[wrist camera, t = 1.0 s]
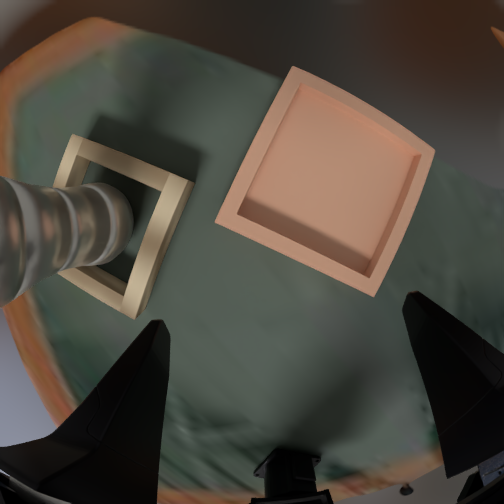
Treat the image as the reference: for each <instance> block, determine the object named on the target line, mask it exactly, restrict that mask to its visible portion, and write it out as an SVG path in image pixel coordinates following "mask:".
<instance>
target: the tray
mask: <svg viewBox="0 0 504 504" xmlns="http://www.w3.org/2000/svg"><path fill="white" fill-rule="evenodd" d="M434 153H435V150H434V149H433V148H432V147H431V146H429V145H428V144H427V143H425V142H424V141H423V140H421V139H420V138H419V137H417V136H416V135H415V134H413V133H412V132H410V131H409V130H407V129H406V128H405V127H403V126H402V125H400V124H399V123H397V122H396V121H394V120H393V119H391V118H390V117H388V116H387V115H385V114H384V113H382V112H381V111H379V110H377V109H376V108H374V107H373V106H371V105H369V104H368V103H366V102H364V101H362V100H361V99H359V98H357V97H355V96H354V95H352V94H350V93H348V92H346V91H345V90H343V89H341V88H339V87H337V86H335V85H333V84H331V83H329V82H327V81H325V80H323V79H321V78H319V77H317V76H315V75H312V74H310V73H308V72H306V71H304V70H301V69H299V68H297V67H295V66H292V68H291V70H290V72H289V73H288V75H287V77H286V79H285V81H284V82H283V84H282V86H281V88H280V90H279V92H278V94H277V96H276V97H275V99H274V101H273V103H272V105H271V107H270V109H269V111H268V113H267V115H266V117H265V119H264V120H263V122H262V124H261V126H260V128H259V130H258V132H257V134H256V136H255V138H254V140H253V142H252V144H251V146H250V148H249V150H248V152H247V154H246V156H245V159H244V161H243V163H242V165H241V167H240V169H239V171H238V173H237V175H236V177H235V179H234V181H233V184H232V186H231V188H230V190H229V192H228V194H227V196H226V199H225V201H224V203H223V205H222V207H221V209H220V212H219V214H218V216H217V218H216V220H215V223H217V224H220V225H222V226H224V227H226V228H228V229H230V230H233V231H235V232H237V233H239V234H241V235H243V236H246V237H248V238H250V239H252V240H254V241H256V242H259V243H261V244H263V245H265V246H267V247H269V248H271V249H274V250H276V251H278V252H280V253H282V254H284V255H286V256H288V257H291V258H293V259H295V260H297V261H299V262H301V263H303V264H305V265H308V266H310V267H312V268H314V269H316V270H318V271H320V272H322V273H324V274H327V275H329V276H331V277H333V278H335V279H337V280H339V281H341V282H343V283H345V284H347V285H350V286H352V287H354V288H356V289H358V290H360V291H362V292H364V293H366V294H368V295H370V296H372V297H374V296H375V294H376V292H377V290H378V288H379V286H380V284H381V282H382V281H383V279H384V277H385V275H386V273H387V271H388V269H389V267H390V264H391V262H392V260H393V258H394V256H395V254H396V252H397V250H398V247H399V245H400V243H401V241H402V239H403V236H404V234H405V232H406V229H407V227H408V225H409V222H410V220H411V217H412V215H413V212H414V210H415V207H416V205H417V202H418V200H419V197H420V194H421V192H422V189H423V186H424V183H425V181H426V178H427V175H428V172H429V169H430V166H431V163H432V160H433V156H434Z"/></svg>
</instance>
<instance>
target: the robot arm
mask: <svg viewBox="0 0 504 504" xmlns="http://www.w3.org/2000/svg"><path fill="white" fill-rule="evenodd" d="M402 312H403V316H404V320H405V324H406V327H407V331H408V335H409V339H410V343H411V346H412V349H413V352H414V355H415V358H416V361H417V364H418V367H419V370H420V373H421V376H422V379H423V382H424V385H425V388H426V392H427V395H428V398H429V402H430V405H431V409H432V413H433V416H434V420H435V424H436V428H437V432H438V435H439V436H438V437H439V441H440V446H441V451H442V456H443V461H444V466H445V471H446V477H447V479H448V478H451V477H453V476H455V475H458V474H460V473H462V472H464V471H466V470H469V469H471V468H473V467H474V466H477V467H478V471H476V472H475V473H473V474H471V475H470V476H469V477H468V479H467V481H466V483H465V485H464V487H463V490H462V491H461V493H460V495H459V497H458V499H457V502H458V503H457V504H504V354H503V353H502V352H500V351H499V350H497V349H496V348H495V347H494V346H492V345H491V344H490V343H488V342H487V341H486V340H485V339H482V337H481V336H479V335H478V334H477V333H475V332H474V331H473V330H471V329H470V328H469V327H468V326H466V325H465V324H464V323H462V322H461V321H460V320H458V319H457V318H455V317H454V316H453V315H451V314H450V313H449V312H447V311H446V310H445V309H443V308H442V307H440V306H439V305H438V304H436V303H435V302H433V301H432V300H431V299H429V298H428V297H426V296H425V295H423V294H422V293H421V292H419V291H412V292H409V293H408V294H407V296H406V299H405V302H404V305H403V308H402ZM169 367H170V334H169V331H168V329H167V327H166V325H165V323H164V321H163V320H161V319H157V320H151V321H150V322H149V323H148V325H147V326H146V327H145V328H144V329H143V330H142V332H141V333H140V334H139V335H138V336H137V337H136V339H135V340H134V341H133V342H132V343H131V344H130V346H129V347H128V348H127V349H126V350H125V352H124V353H123V354H122V355H121V356H120V358H119V359H118V360H117V361H116V362H115V364H114V365H113V366H112V367H111V368H110V370H109V371H108V372H107V373H106V374H105V376H104V377H103V378H102V379H101V381H100V382H99V383H98V384H97V387H95V388H94V389H93V390H92V392H91V393H90V394H89V395H88V396H87V397H86V399H85V400H84V401H83V402H82V403H81V404H80V405H79V407H78V408H77V409H76V410H75V411H74V412H73V413H72V414H71V415H70V416H69V417H68V418H67V419H66V420H65V421H64V422H63V423H62V424H61V425H60V426H59V427H58V428H57V429H56V430H55V431H54V432H53V433H52V434H50V435H48V436H46V437H44V438H41V439H37V440H33V441H29V442H25V443H21V444H17V445H12V446H7V447H0V469H1V470H2V471H4V472H5V473H7V474H8V475H10V477H9V476H7V475H5V474H3V473H1V472H0V504H157V490H158V473H159V460H160V449H161V439H162V429H163V420H164V412H165V404H166V396H167V388H168V381H169ZM320 461H321V458H320V457H318V456H312V455H306V454H301V453H296V452H291V451H286V450H282V449H276V450H274V451H273V452H272V453H271V454H270V455H269V457H268V458H267V459H266V460H265V461H264V462H263V463H262V464H261V465H260V466H259V467H258V468H257V469H256V470H255V471H254V476H255V477H260V478H264V485H265V498H251V503H249V504H334V503H333V501H332V498H331V495H330V492H329V489H326V490H324V491H319V492H317V488H316V483H315V481H316V477H315V472H314V467H315V466H316V465H317V464H318V463H319V462H320Z"/></svg>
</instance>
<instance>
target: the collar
mask: <svg viewBox="0 0 504 504" xmlns="http://www.w3.org/2000/svg"><path fill="white" fill-rule="evenodd" d="M90 160H91V161H93V162H95V163H98V164H100V165H102V166H105V167H107V168H109V169H112V170H114V171H116V172H119V173H121V174H123V175H125V176H128V177H130V178H132V179H135V180H137V181H139V182H141V183H144V184H146V185H148V186H150V187H153V188H155V189H157V190H159V191H162V193H161V195H160V198H159V200H158V203H157V205H156V207H155V210H154V212H153V215H152V217H151V220H150V222H149V225H148V228H147V230H146V233H145V236H144V238H143V241H142V244H141V247H140V249H139V252H138V255H137V258H136V261H135V264H134V267H133V270H132V273H131V276H130V279H129V282H128V284H127V283H125V282H124V281H122V280H120V279H118V278H116V277H115V276H113V275H111V274H109V273H107V272H106V271H104V270H102V269H100V268H99V267H97V266H95V265H93V266H79V267H75V268H70V269H66V270H63V271H60V272H58V274H59V275H61V276H62V277H64V278H65V279H67V280H69V281H70V282H72V283H73V284H75V285H76V286H78V287H79V288H81V289H83V290H84V291H86V292H87V293H89V294H91V295H92V296H94V297H96V298H97V299H99V300H101V301H102V302H104V303H106V304H107V305H109V306H111V307H113V308H114V309H116V310H118V311H120V312H122V313H123V314H125V315H127V316H129V317H131V318H133V319H134V320H135V319H136V318H137V317H138V316H139V315H140V314H141V313H142V312H143V311H144V310H145V308H146V305H147V302H148V299H149V297H150V294H151V291H152V288H153V285H154V282H155V280H156V277H157V274H158V272H159V269H160V266H161V264H162V261H163V258H164V256H165V253H166V251H167V248H168V246H169V243H170V241H171V238H172V236H173V233H174V231H175V228H176V226H177V224H178V221H179V219H180V216H181V214H182V212H183V209H184V207H185V205H186V203H187V200H188V198H189V196H190V193H191V191H192V189H193V187H194V185H195V183H194V182H191V181H189V180H187V179H185V178H182V177H180V176H178V175H175V174H173V173H171V172H168V171H166V170H163V169H161V168H159V167H156V166H154V165H151V164H149V163H147V162H144V161H142V160H139V159H137V158H134V157H132V156H129V155H127V154H124V153H122V152H119V151H117V150H114V149H112V148H109V147H107V146H104V145H101V144H99V143H96V142H94V141H91V140H88V139H86V138H83V137H80V136H77V135H74V134H72V136H71V138H70V141H69V143H68V146H67V148H66V151H65V153H64V156H63V159H62V161H61V164H60V167H59V170H58V173H57V176H56V179H55V182H54V185H53V187H54V188H64V187H77V186H80V185H81V184H82V181H83V179H84V176H85V173H86V171H87V168H88V165H89V163H90Z"/></svg>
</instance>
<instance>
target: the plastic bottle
mask: <svg viewBox="0 0 504 504" xmlns="http://www.w3.org/2000/svg"><path fill="white" fill-rule="evenodd" d="M133 224H134V220H133V212H132V208H131V205H130V203H129V201H128V199H127V198H126V196H125V195H124V194H123V193H122V192H121V191H119V190H118V189H116V188H114V187H112V186H111V185H109V184H105V183H97V182H96V183H88V184H84V185H80V186H77V187H64V188H54V187H46V186H39V185H31V184H27V183H24V182H20V181H17V180H13V179H9V178H6V177H2V176H0V308H2V307H3V306H5V305H7V304H9V303H10V302H11V301H12V300H14V299H15V298H17V297H18V296H20V295H21V294H22V293H24V292H25V291H27V290H28V289H30V288H31V287H32V286H34V285H35V284H37V283H38V282H40V281H42V280H44V279H46V278H48V277H50V276H52V275H54V274H56V273H58V272H60V271H63V270H66V269H70V268H75V267H79V266H93V265H100V264H105V263H108V262H110V261H111V260H113V259H114V258H115V257H117V256H118V255H119V254H120V253H121V252H122V251H123V250H124V249H125V248H126V246H127V245H128V243H129V241H130V238H131V236H132V232H133Z"/></svg>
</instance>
